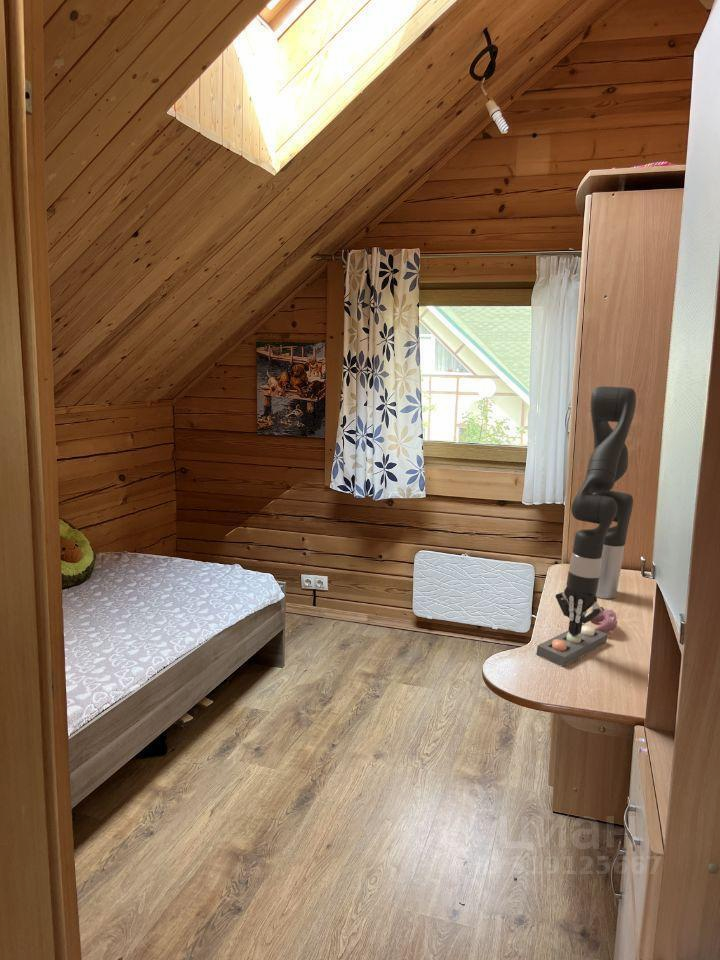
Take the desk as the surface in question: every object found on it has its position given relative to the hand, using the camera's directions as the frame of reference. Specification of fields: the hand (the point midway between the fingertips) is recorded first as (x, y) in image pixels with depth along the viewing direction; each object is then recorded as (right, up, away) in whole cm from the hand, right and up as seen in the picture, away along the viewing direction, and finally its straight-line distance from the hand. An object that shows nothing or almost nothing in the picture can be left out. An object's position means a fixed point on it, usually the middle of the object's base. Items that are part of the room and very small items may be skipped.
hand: (574, 634), depth 177 cm
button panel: (0, -4, +1) cm, 4 cm away
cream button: (+5, -2, +6) cm, 8 cm away
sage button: (0, -3, +1) cm, 3 cm away
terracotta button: (-5, -3, -4) cm, 7 cm away
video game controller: (+12, -2, +14) cm, 19 cm away
